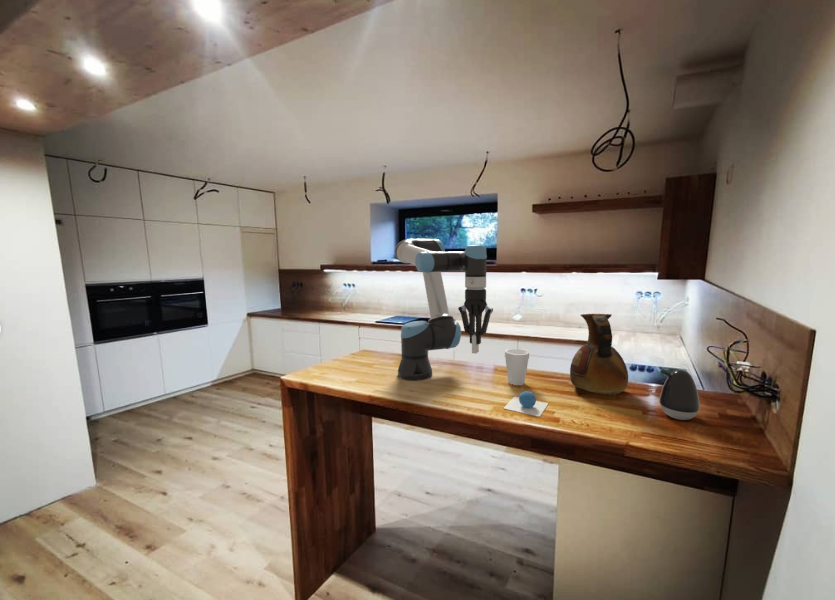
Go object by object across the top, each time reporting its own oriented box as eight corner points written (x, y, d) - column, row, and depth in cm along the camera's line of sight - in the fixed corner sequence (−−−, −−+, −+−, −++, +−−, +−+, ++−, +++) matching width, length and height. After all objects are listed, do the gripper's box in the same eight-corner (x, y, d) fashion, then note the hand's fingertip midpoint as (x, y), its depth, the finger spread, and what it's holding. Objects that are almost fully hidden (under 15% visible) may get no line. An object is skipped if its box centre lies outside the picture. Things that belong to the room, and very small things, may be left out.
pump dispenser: (659, 406, 119) (662, 363, 118) (698, 415, 113) (702, 369, 111) (656, 417, 112) (659, 371, 110) (697, 427, 105) (702, 377, 103)
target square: (503, 408, 120) (503, 408, 120) (514, 396, 130) (514, 396, 130) (539, 417, 113) (539, 416, 113) (548, 403, 123) (548, 403, 123)
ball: (518, 391, 119) (534, 398, 116) (523, 386, 123) (539, 392, 120) (515, 406, 120) (531, 413, 117) (520, 400, 125) (536, 406, 122)
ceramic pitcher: (612, 382, 143) (616, 309, 140) (638, 402, 123) (643, 317, 120) (562, 381, 145) (565, 309, 142) (580, 400, 125) (583, 317, 122)
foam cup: (531, 386, 139) (532, 354, 138) (507, 387, 140) (508, 355, 138) (524, 378, 149) (525, 348, 147) (502, 378, 149) (502, 348, 148)
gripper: (454, 288, 127) (454, 352, 130) (488, 290, 120) (488, 357, 123) (463, 287, 134) (463, 348, 136) (496, 288, 127) (495, 352, 129)
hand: (475, 352), depth 130 cm, fingers closed
